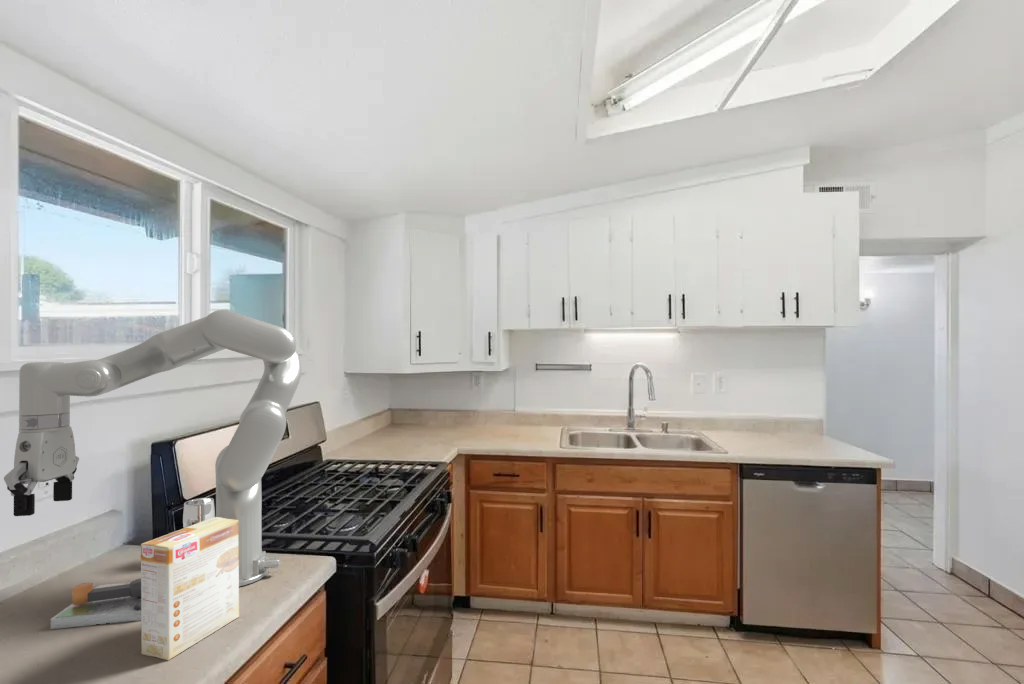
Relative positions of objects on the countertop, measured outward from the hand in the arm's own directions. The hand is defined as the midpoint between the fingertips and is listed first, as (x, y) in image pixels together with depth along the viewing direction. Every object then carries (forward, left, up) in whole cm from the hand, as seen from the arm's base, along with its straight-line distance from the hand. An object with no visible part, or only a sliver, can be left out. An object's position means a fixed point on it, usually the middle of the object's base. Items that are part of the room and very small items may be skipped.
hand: (44, 507), depth 100 cm
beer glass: (-18, -25, -22) cm, 38 cm away
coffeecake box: (-33, +12, -22) cm, 41 cm away
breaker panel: (-12, -2, -22) cm, 26 cm away
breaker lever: (-11, -2, -20) cm, 23 cm away
